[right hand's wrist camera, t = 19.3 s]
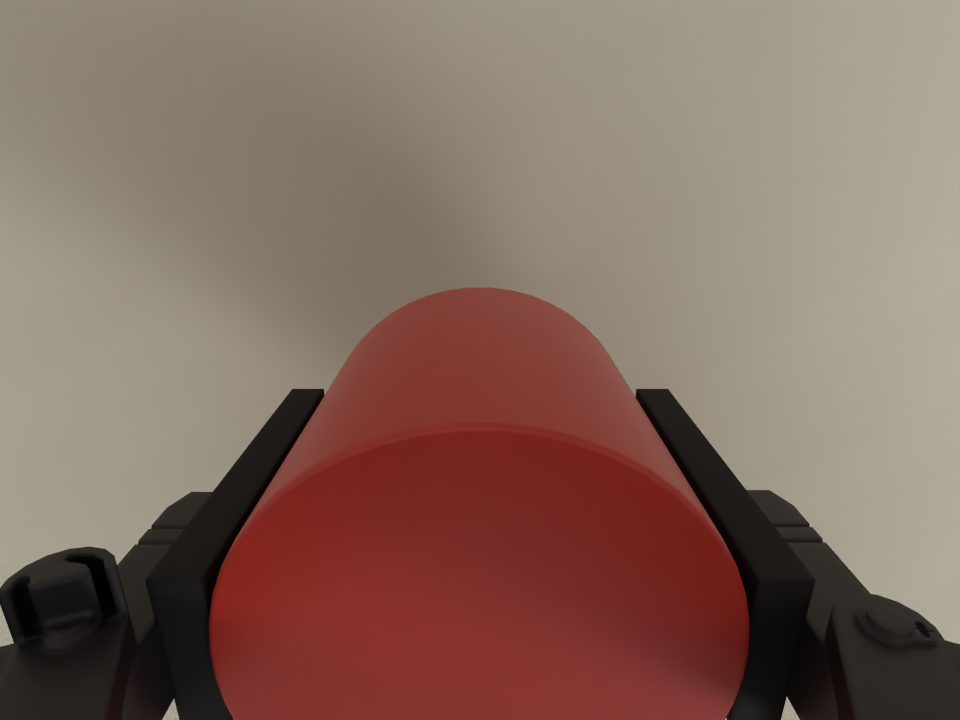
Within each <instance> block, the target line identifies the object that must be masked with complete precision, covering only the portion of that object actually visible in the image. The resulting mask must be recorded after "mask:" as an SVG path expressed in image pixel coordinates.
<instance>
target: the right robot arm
mask: <svg viewBox="0 0 960 720" xmlns="http://www.w3.org/2000/svg"><path fill="white" fill-rule="evenodd" d="M323 398H324V389H292V390H291V392H290V393H289V394H288V395H287V397H286V398H285V399H284V401H283V402H282V403H281V405H280V406H279V407H278V408H277V410H276V411H275V412H274V414H273V415H272V416H271V417H270V419H269V420H268V421H267V423H266V424H265V425H264V427H263V428H262V429H261V430H260V432H259V433H258V434H257V436H256V437H255V438H254V439H253V441H252V442H251V443H250V445H249V446H248V447H247V448H246V450H245V451H244V452H243V454H242V455H241V456H240V458H239V459H238V460H237V461H236V463H235V464H234V465H233V467H232V468H231V469H230V470H229V472H228V473H227V474H226V476H225V477H224V478H223V480H222V481H221V482H220V483H219V485H218V486H217V487H216V489H215V490H214V491H213V492H191V493H189V494H188V495H186V496H184V497H183V498H181V499H180V500H178V501H177V502H175V503H174V504H172V505H171V506H169V507H167V508H166V510H165V511H164V512H163V513H162V514H161V515H160V517H159V518H158V519H157V520H156V521H155V522H154V524H153V525H152V528H151V529H148V530H147V532H146V533H145V534H144V535H143V536H142V537H141V539H140V540H139V543H138V545H134V547H133V548H132V549H131V550H130V551H129V552H128V554H127V555H126V556H125V557H124V558H123V559H122V560H121V562H120V563H119V564H118V565H117V564H116V561H115V557H114V555H112V554H111V553H110V552H108V551H107V550H106V549H101V548H95V547H83V548H74V549H68V550H64V551H61V552H58V553H54V554H51V555H48V556H45V557H43V558H41V559H39V560H37V561H35V562H33V563H31V564H29V565H27V566H25V567H24V568H22V569H21V570H19V571H18V572H17V573H15V574H14V575H13V576H11V577H10V578H8V579H7V580H6V582H5V583H4V584H3V585H2V586H1V588H0V605H1V608H2V611H3V613H4V616H5V619H6V622H7V624H8V627H9V630H10V633H11V635H12V638H13V641H14V643H13V644H10V645H6V646H2V647H0V720H162V719H163V717H164V715H165V713H166V711H167V710H168V708H169V706H170V704H171V702H172V701H173V699H175V703H176V707H177V711H178V715H179V719H180V720H233V717H232V715H231V714H230V712H229V710H228V708H227V707H226V705H225V703H224V700H223V697H222V695H221V692H220V690H219V687H218V685H217V682H216V679H215V675H214V670H213V665H212V661H211V656H210V645H209V616H210V609H211V602H212V594H213V591H214V587H215V584H216V581H217V578H218V575H219V572H220V569H221V566H222V564H223V562H224V560H225V558H226V556H227V554H228V552H229V550H230V548H231V546H232V544H233V542H234V540H235V539H236V537H237V535H238V534H239V532H240V531H241V529H242V527H243V526H244V524H245V523H246V521H247V519H248V518H249V516H250V515H251V513H252V511H253V510H254V508H255V507H256V505H257V503H258V502H259V500H260V499H261V497H262V495H263V494H264V492H265V491H266V489H267V487H268V486H269V484H270V483H271V481H272V479H273V478H274V476H275V475H276V473H277V471H278V470H279V468H280V467H281V465H282V463H283V462H284V460H285V459H286V457H287V455H288V454H289V452H290V451H291V449H292V447H293V446H294V444H295V443H296V441H297V439H298V438H299V436H300V434H301V433H302V431H303V430H304V428H305V426H306V425H307V423H308V422H309V420H310V418H311V417H312V415H313V414H314V412H315V410H316V409H317V407H318V406H319V404H320V402H321V401H322V399H323ZM636 399H637V401H638V402H639V404H640V406H641V407H642V409H643V410H644V412H645V414H646V415H647V417H648V418H649V420H650V422H651V423H652V425H653V427H654V428H655V430H656V431H657V433H658V435H659V436H660V438H661V440H662V441H663V443H664V444H665V446H666V448H667V449H668V451H669V452H670V454H671V456H672V457H673V459H674V461H675V462H676V464H677V465H678V467H679V469H680V470H681V472H682V473H683V475H684V477H685V478H686V480H687V482H688V483H689V485H690V486H691V488H692V490H693V491H694V493H695V494H696V496H697V498H698V499H699V501H700V503H701V504H702V506H703V507H704V509H705V511H706V512H707V514H708V515H709V517H710V519H711V520H712V522H713V524H714V525H715V527H716V528H717V530H718V532H719V533H720V535H721V537H722V538H723V540H724V542H725V544H726V546H727V548H728V550H729V551H730V553H731V555H732V557H733V559H734V561H735V563H736V565H737V567H738V571H739V574H740V577H741V580H742V583H743V586H744V589H745V593H746V598H747V606H748V613H749V620H750V632H749V654H748V659H747V663H746V668H745V673H744V678H743V681H742V684H741V686H740V689H739V691H738V694H737V697H736V699H735V702H734V704H733V706H732V708H731V710H730V711H729V713H728V715H727V717H726V718H727V720H781V717H782V713H783V709H784V705H785V701H786V697H788V699H789V701H790V702H791V704H792V706H793V708H794V710H795V711H796V713H797V715H798V717H799V719H800V720H960V644H956V643H952V642H949V641H945V640H944V639H943V637H942V636H941V634H940V633H939V631H938V630H937V629H936V627H935V626H933V625H932V624H931V623H930V622H929V621H927V620H926V619H925V618H924V617H922V616H921V615H920V614H919V613H917V612H915V611H913V610H912V609H910V608H908V607H906V606H904V605H902V604H901V603H899V602H896V601H893V600H890V599H887V598H884V597H881V596H878V595H873V594H870V593H869V592H868V591H867V589H866V588H865V587H864V586H863V585H862V584H861V583H860V581H859V580H858V579H857V578H856V577H855V576H854V574H853V573H852V572H851V571H850V570H849V569H848V568H847V566H846V565H845V564H844V563H843V562H842V561H841V560H840V558H839V557H838V556H837V555H836V554H835V553H834V552H833V550H832V549H831V548H830V547H829V546H828V545H827V544H826V543H823V541H822V538H821V537H820V536H819V534H818V533H817V532H816V531H815V530H814V529H813V527H809V523H808V522H807V521H806V519H805V518H804V517H803V516H802V515H801V514H800V513H799V511H798V510H797V509H796V508H795V507H794V506H793V505H792V504H790V503H788V502H787V501H785V500H784V499H782V498H781V497H779V496H778V495H776V494H774V493H773V492H771V491H770V490H746V489H745V488H744V487H743V485H742V484H741V483H740V482H739V480H738V479H737V478H736V476H735V475H734V474H733V473H732V471H731V470H730V469H729V467H728V466H727V465H726V464H725V462H724V461H723V460H722V458H721V457H720V456H719V454H718V453H717V452H716V451H715V449H714V448H713V447H712V445H711V444H710V443H709V442H708V440H707V439H706V438H705V436H704V435H703V434H702V432H701V431H700V430H699V429H698V427H697V426H696V425H695V423H694V422H693V421H692V420H691V418H690V417H689V416H688V414H687V413H686V412H685V411H684V409H683V408H682V407H681V405H680V404H679V403H678V401H677V400H676V399H675V398H674V396H673V395H672V394H671V392H670V391H669V390H668V389H637V390H636Z"/></svg>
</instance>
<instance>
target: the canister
mask: <svg viewBox="0 0 960 720" xmlns="http://www.w3.org/2000/svg"><path fill="white" fill-rule="evenodd" d="M749 632H750V620H749V613H748V606H747V598H746V593H745V589H744V586H743V583H742V580H741V577H740V574H739V571H738V567H737V565H736V563H735V561H734V559H733V557H732V555H731V553H730V551H729V550H728V548H727V546H726V544H725V542H724V540H723V538H722V537H721V535H720V533H719V532H718V530H717V528H716V527H715V525H714V524H713V522H712V520H711V519H710V517H709V515H708V514H707V512H706V511H705V509H704V507H703V506H702V504H701V503H700V501H699V499H698V498H697V496H696V494H695V493H694V491H693V490H692V488H691V486H690V485H689V483H688V482H687V480H686V478H685V477H684V475H683V473H682V472H681V470H680V469H679V467H678V465H677V464H676V462H675V461H674V459H673V457H672V456H671V454H670V452H669V451H668V449H667V448H666V446H665V444H664V443H663V441H662V440H661V438H660V436H659V435H658V433H657V431H656V430H655V428H654V427H653V425H652V423H651V422H650V420H649V418H648V417H647V415H646V414H645V412H644V410H643V409H642V407H641V406H640V404H639V402H638V401H637V399H636V397H635V396H634V394H633V393H632V391H631V389H630V388H629V386H628V385H627V383H626V381H625V380H624V378H623V376H622V375H621V373H620V372H619V370H618V368H617V367H616V365H615V364H614V362H613V360H612V359H611V357H610V355H609V354H608V353H607V351H606V350H605V349H604V347H603V346H602V345H601V343H600V342H599V340H598V339H597V338H596V337H595V336H594V335H593V334H592V333H591V332H590V331H589V330H588V329H587V328H586V327H585V326H584V325H582V324H581V323H580V322H578V321H577V320H576V319H575V318H573V317H572V316H571V315H569V314H568V313H566V312H564V311H563V310H561V309H559V308H557V307H556V306H554V305H552V304H550V303H548V302H545V301H543V300H541V299H538V298H536V297H533V296H530V295H526V294H523V293H519V292H515V291H511V290H503V289H496V288H464V289H456V290H448V291H444V292H441V293H437V294H433V295H429V296H426V297H424V298H421V299H419V300H416V301H414V302H411V303H409V304H407V305H405V306H404V307H402V308H400V309H398V310H397V311H395V312H393V313H391V314H390V315H389V316H387V317H386V318H385V319H383V320H382V321H381V322H380V323H378V324H377V325H376V326H374V327H373V329H372V330H371V331H370V332H369V333H368V334H367V335H366V336H365V337H364V338H363V339H362V340H361V341H360V342H359V344H358V345H357V346H356V348H355V349H354V351H353V352H352V353H351V355H350V356H349V358H348V359H347V361H346V362H345V364H344V366H343V367H342V369H341V370H340V372H339V374H338V375H337V377H336V378H335V380H334V382H333V383H332V385H331V386H330V388H329V390H328V391H327V393H326V394H325V396H324V398H323V399H322V401H321V402H320V404H319V406H318V407H317V409H316V410H315V412H314V414H313V415H312V417H311V418H310V420H309V422H308V423H307V425H306V426H305V428H304V430H303V431H302V433H301V434H300V436H299V438H298V439H297V441H296V443H295V444H294V446H293V447H292V449H291V451H290V452H289V454H288V455H287V457H286V459H285V460H284V462H283V463H282V465H281V467H280V468H279V470H278V471H277V473H276V475H275V476H274V478H273V479H272V481H271V483H270V484H269V486H268V487H267V489H266V491H265V492H264V494H263V495H262V497H261V499H260V500H259V502H258V503H257V505H256V507H255V508H254V510H253V511H252V513H251V515H250V516H249V518H248V519H247V521H246V523H245V524H244V526H243V527H242V529H241V531H240V532H239V534H238V535H237V537H236V539H235V540H234V542H233V544H232V546H231V548H230V550H229V552H228V554H227V556H226V558H225V560H224V562H223V564H222V566H221V569H220V572H219V575H218V578H217V581H216V584H215V587H214V591H213V594H212V602H211V609H210V616H209V645H210V656H211V661H212V665H213V670H214V675H215V679H216V682H217V685H218V687H219V690H220V692H221V695H222V697H223V700H224V703H225V705H226V707H227V708H228V710H229V712H230V714H231V715H232V717H233V719H234V720H725V718H726V717H727V715H728V713H729V711H730V710H731V708H732V706H733V704H734V702H735V699H736V697H737V694H738V691H739V689H740V686H741V684H742V681H743V678H744V673H745V668H746V663H747V659H748V654H749Z"/></svg>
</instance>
